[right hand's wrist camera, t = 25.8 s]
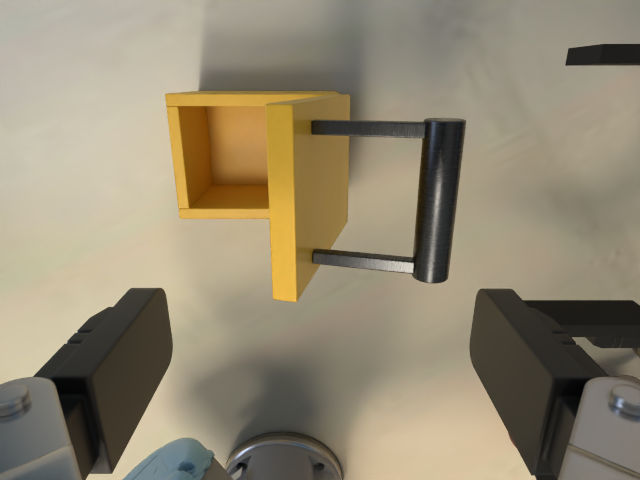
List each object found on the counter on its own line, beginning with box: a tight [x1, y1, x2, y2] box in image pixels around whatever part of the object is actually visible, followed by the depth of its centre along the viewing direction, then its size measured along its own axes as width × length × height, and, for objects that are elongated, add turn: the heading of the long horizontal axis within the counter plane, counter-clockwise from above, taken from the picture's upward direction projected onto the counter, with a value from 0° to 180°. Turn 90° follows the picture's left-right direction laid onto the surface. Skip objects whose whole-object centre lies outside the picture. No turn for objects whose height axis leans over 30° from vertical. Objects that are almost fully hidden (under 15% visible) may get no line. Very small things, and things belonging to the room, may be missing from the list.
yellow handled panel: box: [265, 94, 466, 302], centre depth 25 cm, size 14×10×9 cm
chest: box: [165, 91, 340, 219], centre depth 37 cm, size 13×10×9 cm
